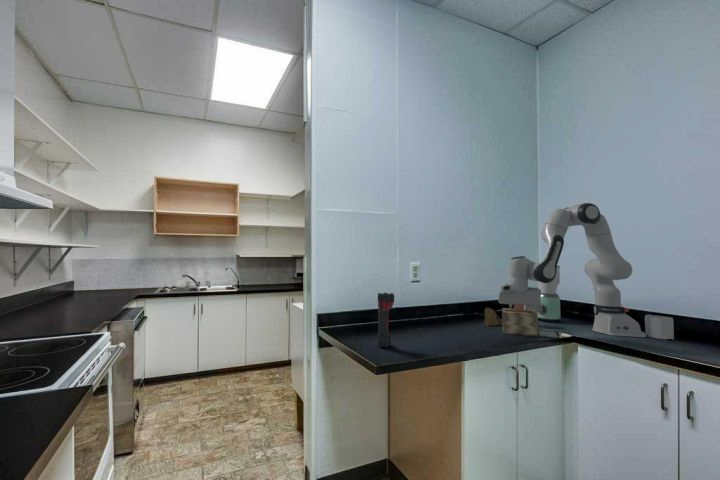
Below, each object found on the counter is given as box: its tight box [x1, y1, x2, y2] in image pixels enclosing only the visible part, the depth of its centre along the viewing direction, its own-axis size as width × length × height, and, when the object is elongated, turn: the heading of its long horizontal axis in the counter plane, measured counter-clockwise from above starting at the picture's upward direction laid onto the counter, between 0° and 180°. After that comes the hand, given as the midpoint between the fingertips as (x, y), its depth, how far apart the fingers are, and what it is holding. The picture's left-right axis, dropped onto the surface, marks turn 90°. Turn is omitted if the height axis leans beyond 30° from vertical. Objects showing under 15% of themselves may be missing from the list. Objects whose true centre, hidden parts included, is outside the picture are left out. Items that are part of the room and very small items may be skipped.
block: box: [513, 304, 524, 312], centre depth 174 cm, size 4×4×8 cm
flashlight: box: [376, 292, 395, 348], centre depth 146 cm, size 8×8×23 cm
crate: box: [501, 307, 539, 338], centre depth 174 cm, size 16×14×11 cm
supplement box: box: [524, 305, 539, 322], centre depth 191 cm, size 7×7×13 cm
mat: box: [538, 330, 559, 339], centre depth 168 cm, size 8×10×1 cm
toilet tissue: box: [644, 314, 675, 340], centre depth 166 cm, size 11×12×10 cm
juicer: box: [537, 265, 561, 324], centre depth 207 cm, size 19×13×35 cm
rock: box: [484, 307, 501, 327], centre depth 191 cm, size 11×9×10 cm
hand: (519, 313), depth 174 cm, fingers closed on block, 4 cm apart
